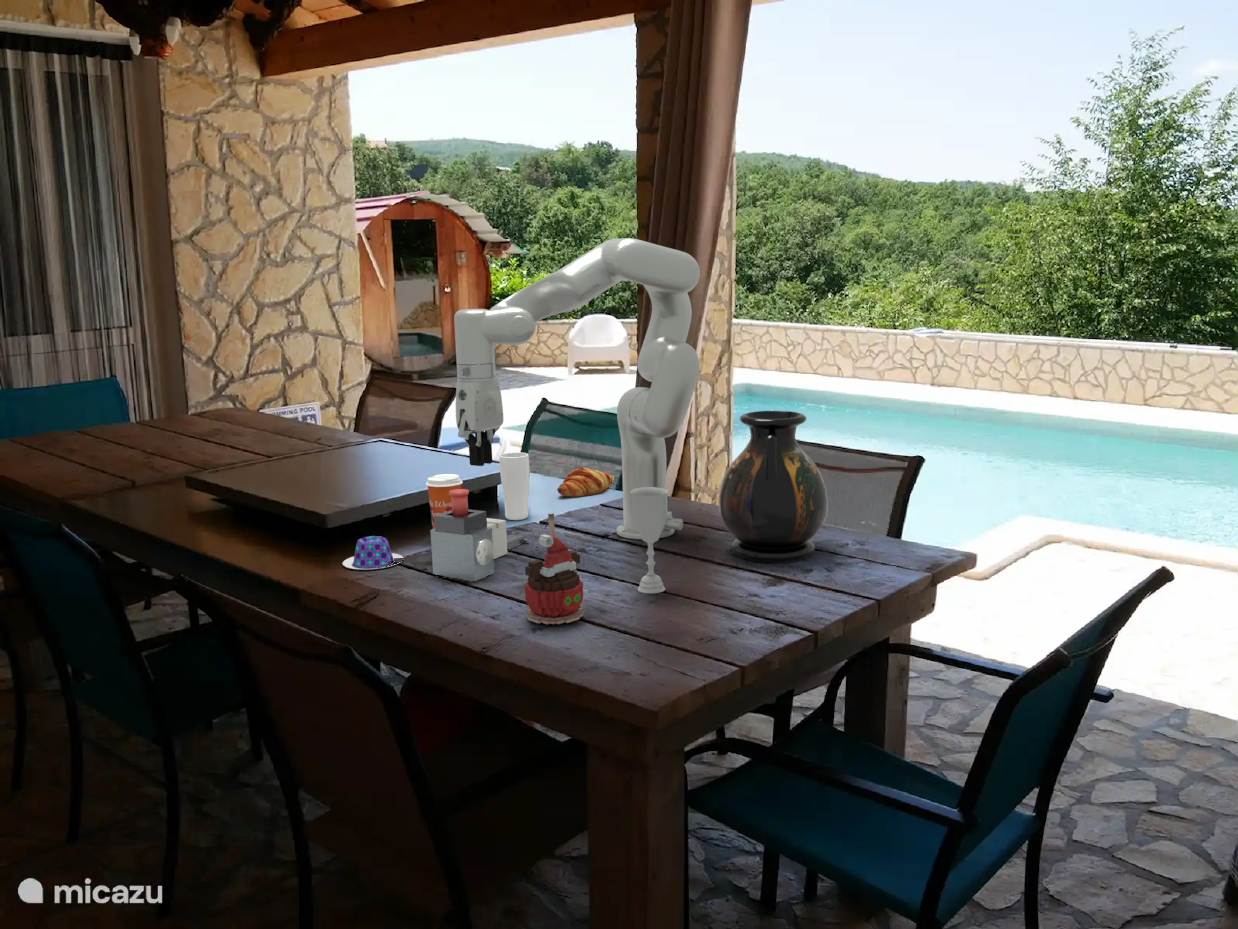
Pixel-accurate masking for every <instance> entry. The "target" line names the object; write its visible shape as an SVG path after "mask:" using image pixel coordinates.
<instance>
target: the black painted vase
mask: <svg viewBox="0 0 1238 929" xmlns="http://www.w3.org/2000/svg"><path fill="white" fill-rule="evenodd" d="M739 421H740V422H741V423H742V424H743V425H746V426H748V427H749V432H750V439H749V441H748V442H747V445H746V446H745V447H744V448H743V450H742V451H741V452H740V453H739V454H738V456H737V457H736V458H735V459H734V460H733V461H732V462H731V464H730V465H729V466H728V468H727V469H726V471H725V473H724V476H723V478H722V481H721V483H720V487H719V494H718V511H719V512H718V513H719V517H720V518H721V521H722V524H723V525H724V527H725V529H726V530H727V531H728V532H729V534H730V535H731V536H733V538H734V540H733V542H732V543H731V550H732V552H733V553H734V555H736V556H737V557H740V558H742V559H744V560H748V561H752V562H758V563H767V564H769V563H771V564H772V563H773V564H779V563H792V562H798V561H800V560H804V559H806V558H808V557H809V556H811V555H813V553H814V551H815V550H816V547H815V545H814V542H813V541H812V540H811V539H813V537H815V535H817V533H819V531H820V529H821V528H822V527H823V525H824V523H825V521H826V518H827V516H828V513H829V497H828V492H827V486H826V483H825V479H824V478H823V475H822V473H821V471H820V469H819V468H818V467H817V466H818V465H817V464H816V463H815V461H813V460H812V458H811V457H809V455H808V454H807V453H806V452H805V451H804V450H803V449H802V448H801V446H800V444H798V442H797V439H796V432H797V427H798V426H799V425H802V424H804V423H805V422H806V421H807V416H806V415H805V414H804V413H801V412H797V411H791V410H759V411H751V412H746V413H743V414H742V415H741V416H740V417H739Z"/></svg>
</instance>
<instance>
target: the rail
mask: <svg viewBox="0 0 1238 929" xmlns="http://www.w3.org/2000/svg"><path fill="white" fill-rule="evenodd" d="M529 542H530V543H531V541H530V538H529V539H528V538H525V536H524V535H519V534H510V535H508V536H507V549H509V548H512V547H514V546H516V545H518V544H521V545H523V544H522V543H529ZM530 543H529V544H530ZM514 548H515V547H514ZM512 549H513V548H512Z"/></svg>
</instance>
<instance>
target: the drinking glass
mask: <svg viewBox="0 0 1238 929" xmlns="http://www.w3.org/2000/svg"><path fill="white" fill-rule="evenodd" d="M499 473H500V475H499V476H500V481H501V482H500V483H501V488H502V489H501V490H502V496H503V503H504V516H505V518H506V520H509V521H522V520H526V519H527V518H528V517H529V492H530V490H529V489H530V457H529V453H526V452H519V451H518V452H505V453H501V454H500V455H499Z"/></svg>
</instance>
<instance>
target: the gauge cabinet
mask: <svg viewBox="0 0 1238 929" xmlns="http://www.w3.org/2000/svg"><path fill="white" fill-rule="evenodd" d="M487 518H488V517H487V510H478V509H469V508H468V515H466V516H460V517H458V516H453V515H452V510H450V511H447V512H444V513H441V514H438V515H435V516H434V524H435V529H433V528H432V529H430V530H429V531H430V544H431V546H430V547H431V558H432V559H431V561H432V563H431V564H432V575H433V574H435V575H444V576H445V575H446V576H450V577H455V578H463V579H468V580H472V581H476V582H478V581H477V580H478V579H480V578H483V579H485V578H487V577H486V576H488V575H490V576H492V575H493V574H492V573H494V574H495V563H494V561H495V559H493V540H492V528H488V527H487ZM491 574H492V575H491ZM484 577H485V578H484ZM488 577H489V576H488ZM472 581H471V582H472Z"/></svg>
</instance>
